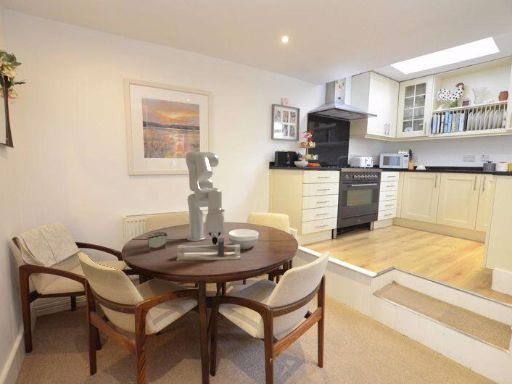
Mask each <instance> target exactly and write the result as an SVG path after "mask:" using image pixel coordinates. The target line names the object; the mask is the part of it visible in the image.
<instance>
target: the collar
mask: <svg viewBox="0 0 512 384" xmlns="http://www.w3.org/2000/svg"><path fill="white" fill-rule="evenodd" d="M217 245H218V251H217V252H218V257H220V256H224V252H225V251H224V245H225V237H218V243H217Z"/></svg>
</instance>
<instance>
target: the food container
mask: <svg viewBox="0 0 512 384" xmlns="http://www.w3.org/2000/svg"><path fill="white" fill-rule="evenodd" d="M167 237H168V232H166V231H158V232H150V233H148V234H147V236H146V238H145V240H147V245H148V251H149V253H150V254H151V253H155V252H159V251H163V250H166V249H167V240H168V239H167Z"/></svg>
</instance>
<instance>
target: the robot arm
mask: <svg viewBox="0 0 512 384" xmlns="http://www.w3.org/2000/svg"><path fill="white" fill-rule="evenodd" d="M185 165H186V166H187V169H188V178H189V179H188V181H189V182H188V183H189V184H188V185H189V189H190V191H191V192H194V193H190V194H189V195H188V196H187V206H188V223H189V225H188V226H189V229H188V230H189V231H188V232H189V236H187V238H186V239H187V241H191V242H199V241H200V242H201V241H203V240H206V238H207V237H206V235H209V236H210V238H211V240H212V241H211V243H212V245H217V244H218V240H219V236H221V235H224V234H225V233H226V232H225V218H224V213H225V209H223V207H222V206H223V204H222V203H223V202H222V199H223V197H222V196H223V194H222V193H223V192H222V190H221V189H219V188H217V187H214V183H213V180H212V176H213V174H214V173H213V169H212V168H217V167H218V165H219V157H218V155H217V154H216V153H213V152H210V151H209V152H208V151H207V152H206V151H188V152H187V153H186V155H185ZM201 208H207V213H206V217H205V224H204V212H203V211H202V209H201ZM204 225H205V232H204ZM204 233H205V234H204ZM215 233H216V234H215Z"/></svg>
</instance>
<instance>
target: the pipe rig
mask: <svg viewBox="0 0 512 384" xmlns="http://www.w3.org/2000/svg"><path fill="white" fill-rule="evenodd" d="M240 259H241V249H240V244H237V245H233V244H224V256H220V257H218V244H216V245H213V244H212V245H210V244H209V245H206V244H205V245H204V244H203V245H178V246H177V258H176V261H177V262H178V261H180V262H181V261H213V260H215V261H216V260H217V261H219V260H240Z"/></svg>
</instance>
